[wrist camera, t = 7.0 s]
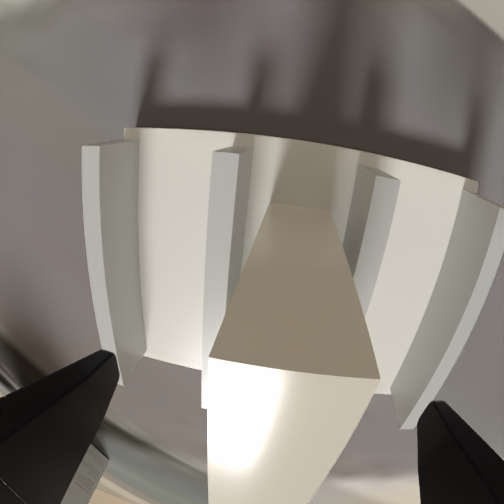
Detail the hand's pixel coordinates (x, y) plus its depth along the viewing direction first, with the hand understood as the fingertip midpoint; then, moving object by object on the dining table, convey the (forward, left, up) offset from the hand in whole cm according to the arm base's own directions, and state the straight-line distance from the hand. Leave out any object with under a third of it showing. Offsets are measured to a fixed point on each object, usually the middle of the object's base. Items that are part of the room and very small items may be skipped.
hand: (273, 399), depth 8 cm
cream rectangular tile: (0, 0, -6) cm, 6 cm away
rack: (0, 0, -8) cm, 8 cm away
